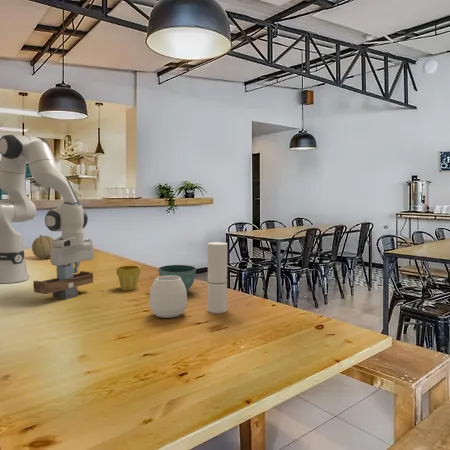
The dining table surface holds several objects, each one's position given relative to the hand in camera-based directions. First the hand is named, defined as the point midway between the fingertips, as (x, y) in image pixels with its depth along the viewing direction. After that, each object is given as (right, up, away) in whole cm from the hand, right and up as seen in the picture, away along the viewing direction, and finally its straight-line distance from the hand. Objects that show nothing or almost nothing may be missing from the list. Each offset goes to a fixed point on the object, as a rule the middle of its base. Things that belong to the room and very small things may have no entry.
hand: (73, 273), depth 177 cm
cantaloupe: (-50, -1, +89) cm, 102 cm away
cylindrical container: (+61, -12, -21) cm, 65 cm away
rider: (-2, -3, -4) cm, 5 cm away
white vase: (+44, -12, -28) cm, 53 cm away
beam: (-2, -9, -3) cm, 10 cm away
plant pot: (+21, -9, +11) cm, 25 cm away
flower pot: (+43, -9, +5) cm, 44 cm away
